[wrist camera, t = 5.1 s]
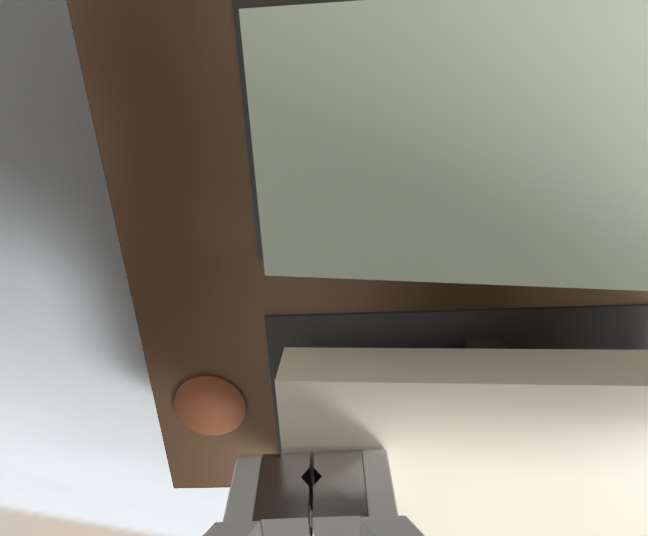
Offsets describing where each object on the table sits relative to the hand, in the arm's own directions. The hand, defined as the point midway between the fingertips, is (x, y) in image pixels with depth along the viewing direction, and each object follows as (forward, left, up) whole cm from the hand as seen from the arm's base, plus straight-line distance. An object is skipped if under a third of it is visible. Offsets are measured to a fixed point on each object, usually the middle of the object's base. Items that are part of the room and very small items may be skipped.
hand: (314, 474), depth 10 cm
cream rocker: (-4, 0, -1) cm, 4 cm away
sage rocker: (-4, -6, -1) cm, 8 cm away
